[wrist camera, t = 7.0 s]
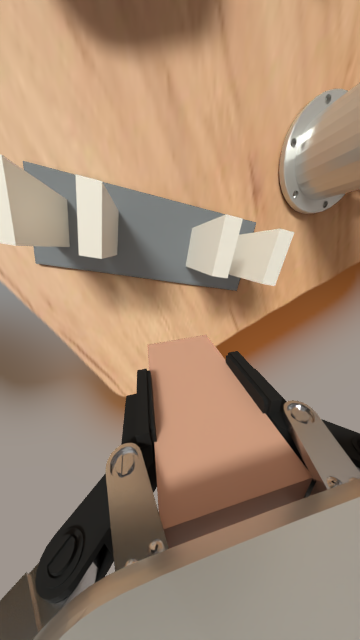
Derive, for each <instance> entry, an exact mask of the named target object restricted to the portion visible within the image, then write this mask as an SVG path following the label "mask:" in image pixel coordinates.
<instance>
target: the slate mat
mask: <svg viewBox="0 0 360 640" xmlns="http://www.w3.org/2000/svg"><path fill="white" fill-rule="evenodd" d="M23 166H24V170H25V171H26V172H28V173H29V174H30V175H32V176H33V177H35V178H36V179H38V180H39V181H41V182H42V183H44V184H45V185H47V186H48V187H50V188H51V189H52V190H54V191H55V192H57V193H58V194H60V195H61V196H63V197H64V198H66V199H67V208H68V225H69V243H70V247H47V246H34V254H35V262H36V263H37V264H44V265H52V266H59V267H66V268H74V269H81V270H88V271H96V272H103V273H110V274H118V275H125V276H132V277H140V278H147V279H154V280H162V281H169V282H176V283H184V284H191V285H198V286H206V287H213V288H220V289H228V290H235V291H237V288H238V285H239V281H240V277H236V276H233V275H229V274H228V278H221V277H215V276H211V275H208V274H205V273H202V272H200V271H197V270H194V269H192V268H189V267H186V261H187V255H188V249H189V244H190V238H191V232H192V228H193V227H196V226H198V225H201V224H203V223H206V222H208V221H211V220H213V219H216V218H218V217H221V216H223V215H225V214H222V213H218V212H214V211H210V210H206V209H203V208H199V207H195V206H191V205H188V204H184V203H180V202H176V201H172V200H169V199H165V198H161V197H157V196H154V195H150V194H146V193H142V192H138V191H135V190H131V189H127V188H123V187H120V186H116V185H112V184H108V183H104V182H103V184H104V186H105V188H106V189H107V191H108V193H109V195H110V197H111V198H112V200H113V202H114V204H115V205H116V207H117V209H118V211H119V218H118V247H117V255H115V256H111V257H107V258H103V259H99V258H93V257H86V256H80V255H79V249H78V224H77V200H76V175H74V174H70V173H67V172H63V171H59V170H55V169H52V168H48V167H44V166H40V165H36V164H33V163H29V162H25V161H23ZM255 225H256V222H252V221H248V220H244V219H243V221H242V225H241V228H240V232H239V235H241V234H247V233H253V232H254V229H255Z"/></svg>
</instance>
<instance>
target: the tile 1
mask: <svg viewBox="0 0 360 640" xmlns="http://www.w3.org/2000/svg"><path fill="white" fill-rule="evenodd" d="M0 243H3V244H9V245H15V246H47V247H70V243H69V225H68V208H67V199H66V198H64V197H63V196H61V195H60V194H58V193H57V192H55V191H54V190H52V189H51V188H50V187H48V186H47V185H45V184H44V183H42V182H41V181H39V180H38V179H36V178H35V177H33V176H32V175H30V174H29V173H28V172H26V171H25V170H23V169H22V168H20V167H19V166H17V165H16V164H14V163H13V162H11V161H10V160H9V159H7V158H6V157H4V156H3V155H1V154H0Z"/></svg>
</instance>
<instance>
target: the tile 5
mask: <svg viewBox="0 0 360 640" xmlns="http://www.w3.org/2000/svg"><path fill="white" fill-rule="evenodd" d="M293 234H294V232H291V231H287V230H283V229H275V230H268V231H261V232H254V233H247V234H241V235H239V236H238V240H237V244H236V248H235V251H234V255H233V259H232V263H231V267H230V271H229V275H233V276H236V277H240V278H243V279H247V280H250V281H254V282H257V283H261V284H266V285H273V286H275V284H276V281H277V279H278V276H279V273H280V270H281V268H282V265H283V262H284V259H285V257H286V254H287V251H288V248H289V245H290V243H291V240H292V237H293Z"/></svg>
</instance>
